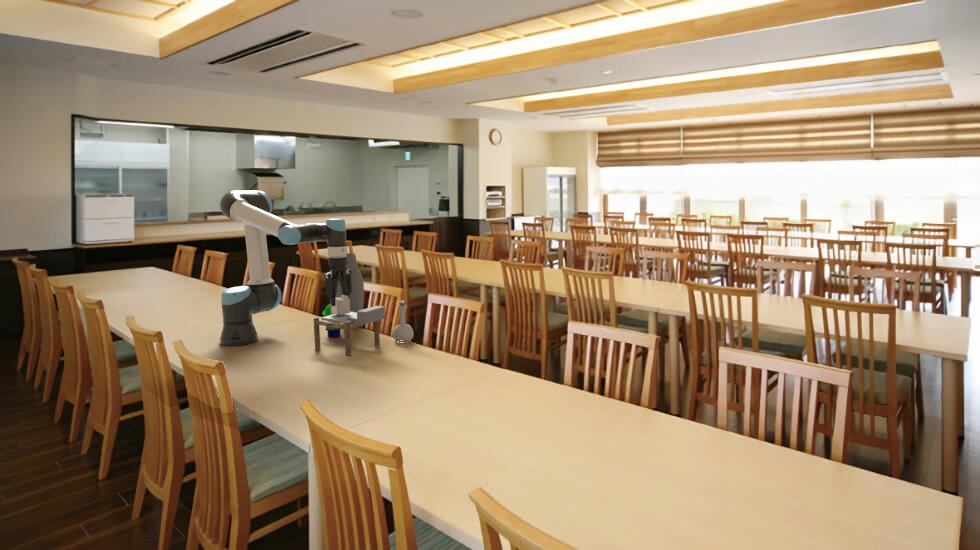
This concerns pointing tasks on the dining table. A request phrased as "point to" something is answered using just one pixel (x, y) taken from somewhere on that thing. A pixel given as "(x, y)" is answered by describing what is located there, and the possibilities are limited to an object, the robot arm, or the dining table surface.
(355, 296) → the vase
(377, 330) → the frame
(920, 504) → the dining table surface
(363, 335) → the dining table surface
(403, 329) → the potion bottle
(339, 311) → the stone
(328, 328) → the toy
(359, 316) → the grey faceted block
